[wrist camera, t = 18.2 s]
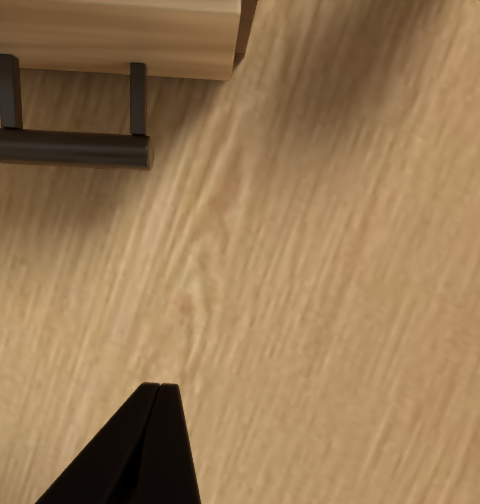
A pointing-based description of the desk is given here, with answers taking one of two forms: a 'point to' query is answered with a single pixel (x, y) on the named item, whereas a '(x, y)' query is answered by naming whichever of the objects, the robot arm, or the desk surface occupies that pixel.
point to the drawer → (107, 66)
